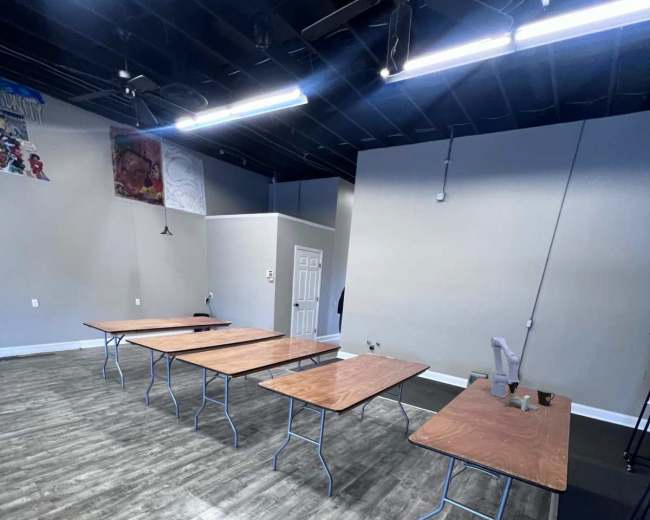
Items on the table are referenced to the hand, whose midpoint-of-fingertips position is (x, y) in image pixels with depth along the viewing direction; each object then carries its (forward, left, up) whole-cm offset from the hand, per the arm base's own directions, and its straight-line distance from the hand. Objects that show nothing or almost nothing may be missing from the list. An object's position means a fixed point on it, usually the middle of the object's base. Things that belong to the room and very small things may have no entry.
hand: (513, 392), depth 211 cm
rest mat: (+4, +10, -9) cm, 14 cm away
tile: (+7, 0, -9) cm, 11 cm away
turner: (+2, 0, -3) cm, 4 cm away
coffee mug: (+13, +26, -9) cm, 31 cm away
